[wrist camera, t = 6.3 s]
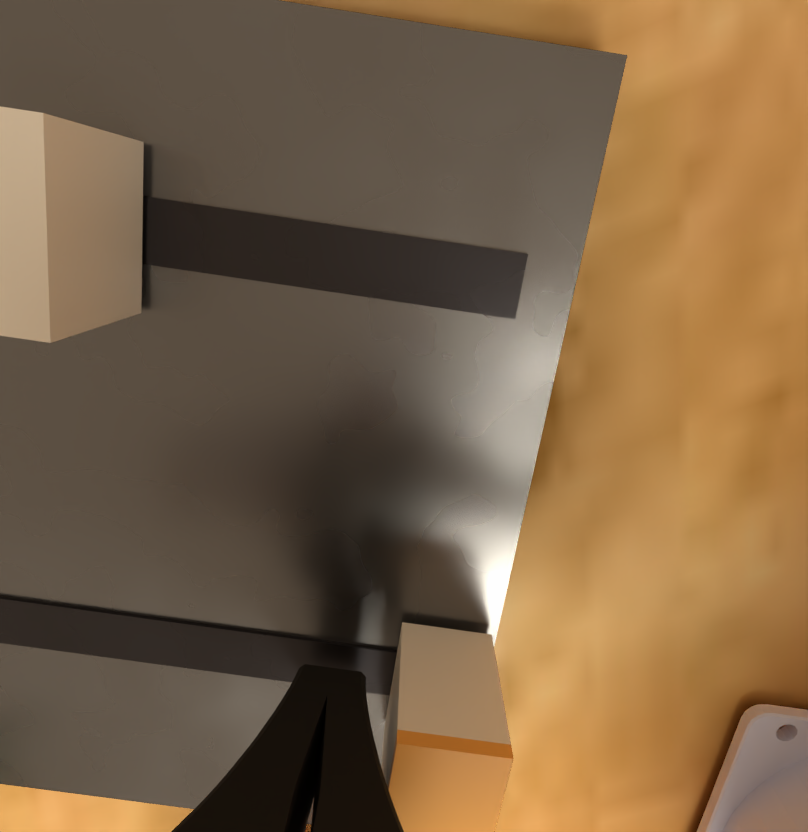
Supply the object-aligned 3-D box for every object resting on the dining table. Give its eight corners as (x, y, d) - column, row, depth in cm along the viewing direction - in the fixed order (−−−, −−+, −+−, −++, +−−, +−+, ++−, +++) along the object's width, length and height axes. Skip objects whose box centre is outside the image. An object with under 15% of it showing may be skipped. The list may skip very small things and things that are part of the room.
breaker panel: (601, 75, 12) (630, 51, 10) (447, 790, 17) (450, 849, 16) (-137, -41, 11) (-228, -84, 10) (-57, 723, 17) (-107, 777, 15)
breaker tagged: (491, 634, 14) (513, 758, 10) (468, 740, 14) (481, 884, 11) (402, 622, 14) (396, 743, 10) (384, 729, 14) (374, 871, 11)
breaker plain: (143, 141, 11) (43, 113, 8) (140, 312, 12) (50, 342, 9) (28, 124, 11) (-115, 89, 8) (35, 297, 12) (-91, 322, 9)
